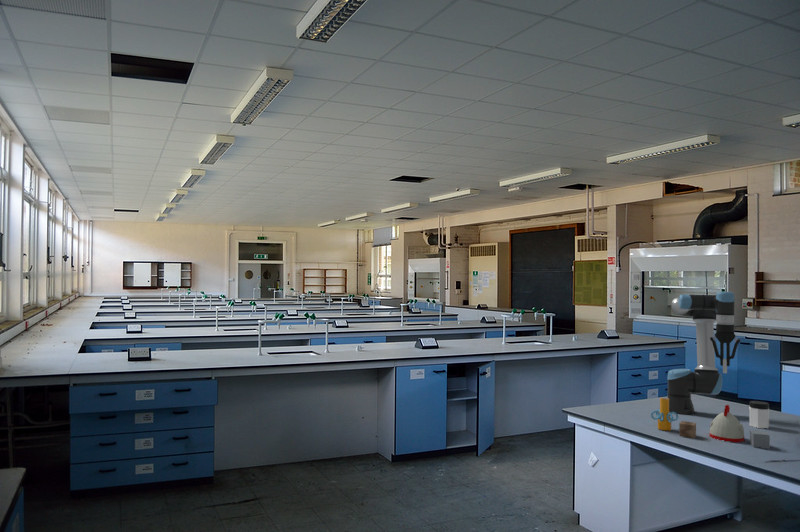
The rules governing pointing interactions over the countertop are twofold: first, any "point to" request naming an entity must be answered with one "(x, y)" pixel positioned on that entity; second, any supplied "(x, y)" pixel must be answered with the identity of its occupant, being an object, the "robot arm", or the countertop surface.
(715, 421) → the kitchen timer
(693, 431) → the walnut block
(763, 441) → the slate block
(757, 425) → the jar
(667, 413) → the yellow column with loops
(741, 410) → the countertop surface
